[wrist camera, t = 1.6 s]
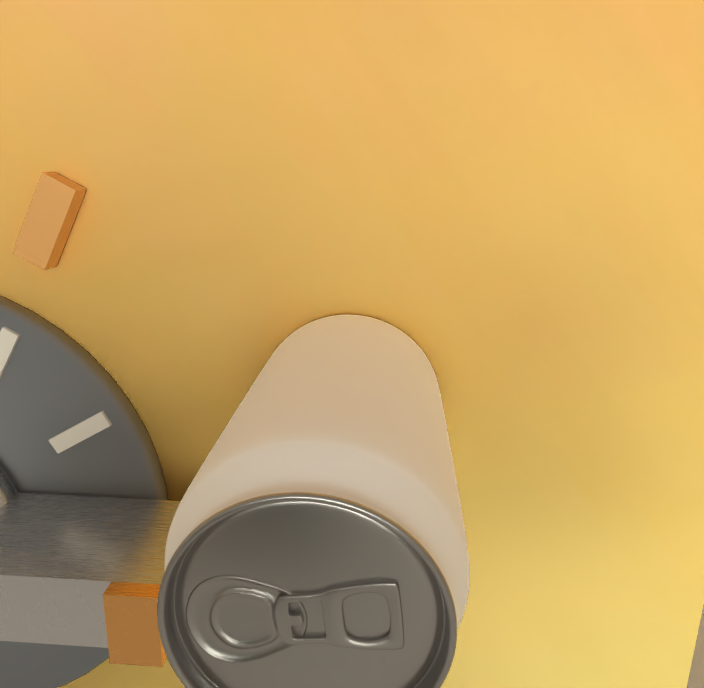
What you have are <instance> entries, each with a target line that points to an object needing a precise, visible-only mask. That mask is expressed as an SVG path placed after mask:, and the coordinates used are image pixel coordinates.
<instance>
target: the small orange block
mask: <svg viewBox="0 0 704 688" xmlns="http://www.w3.org/2000/svg"><path fill="white" fill-rule="evenodd" d="M86 190H87V189H86V188H84V187H82V186H80V185H78V184H76V183H74V182H73V181H71V180H69V179H67V178H65V177H63V176H61V175H59V174H58V173H56V172H42V174H41V177H40V179H39V182H38V185H37V187H36V190H35V193H34V196H33V198H32V201H31V204H30V206H29V209H28V212H27V215H26V217H25V220H24V223H23V226H22V228H21V231H20V234H19V236H18V239H17V242H16V245H15V247H14V250H13V254H15V255H17V256H19V257H21V258H23V259H25V260H26V261H28V262H30V263H32V264H34V265H36V266H38V267H40V268H42V269H44V270H46V269H49V268H52V267H56V266H57V264H58V261H59V259H60V256H61V254H62V251H63V249H64V246H65V243H66V241H67V238H68V236H69V233H70V231H71V228H72V226H73V223H74V221H75V218H76V215H77V213H78V210H79V208H80V205H81V203H82V200H83V198H84V195H85V192H86Z"/></svg>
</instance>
